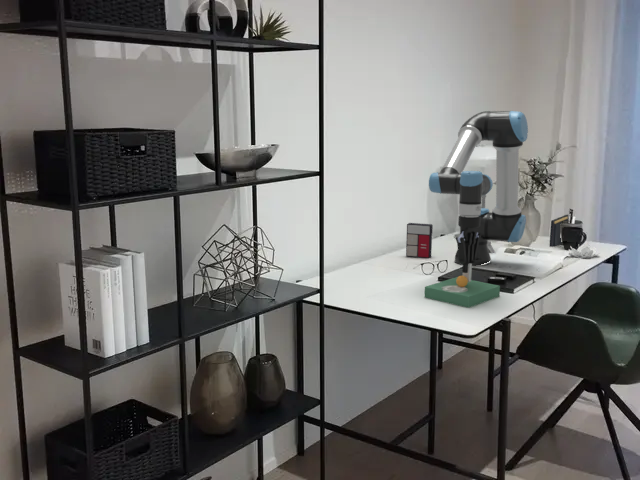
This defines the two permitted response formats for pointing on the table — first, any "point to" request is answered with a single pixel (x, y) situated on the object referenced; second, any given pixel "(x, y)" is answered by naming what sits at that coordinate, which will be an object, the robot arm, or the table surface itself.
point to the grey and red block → (419, 240)
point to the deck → (462, 292)
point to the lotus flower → (583, 251)
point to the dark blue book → (556, 230)
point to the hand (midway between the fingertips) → (466, 281)
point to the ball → (461, 281)
